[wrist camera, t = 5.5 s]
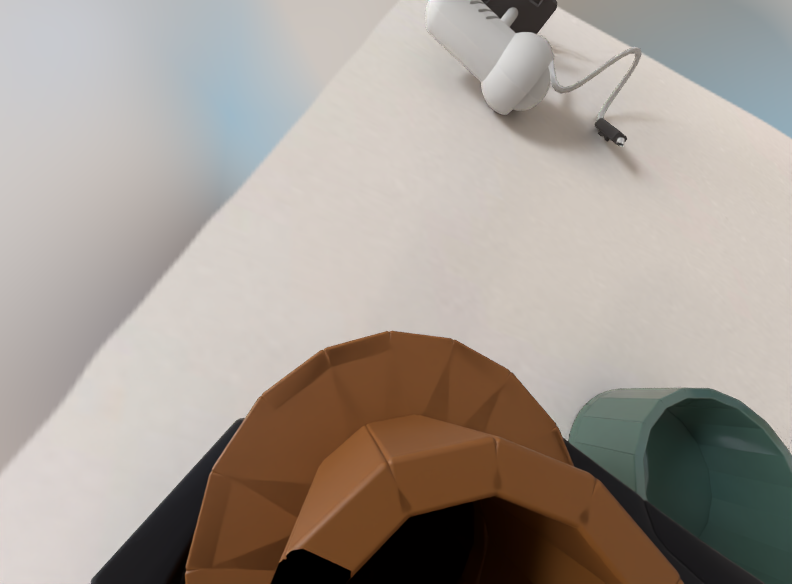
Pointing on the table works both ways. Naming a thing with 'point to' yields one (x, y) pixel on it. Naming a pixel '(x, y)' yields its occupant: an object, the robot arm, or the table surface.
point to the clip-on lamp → (510, 52)
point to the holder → (699, 468)
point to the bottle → (409, 481)
